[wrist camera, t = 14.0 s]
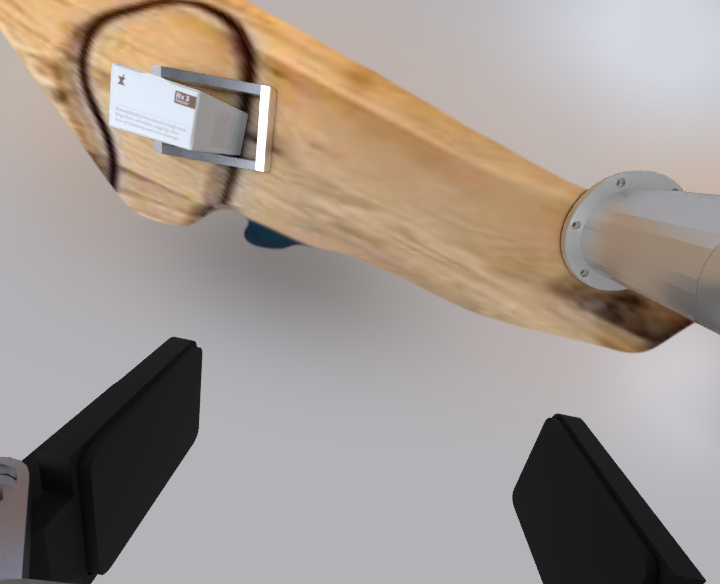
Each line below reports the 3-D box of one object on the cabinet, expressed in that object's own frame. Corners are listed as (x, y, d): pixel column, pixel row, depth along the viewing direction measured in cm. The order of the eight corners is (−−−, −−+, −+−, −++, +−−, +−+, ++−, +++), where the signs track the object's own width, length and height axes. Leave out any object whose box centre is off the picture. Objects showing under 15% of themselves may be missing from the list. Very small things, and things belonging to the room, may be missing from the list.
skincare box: (184, 138, 37) (102, 129, 26) (190, 90, 35) (105, 58, 24) (244, 157, 37) (189, 157, 26) (252, 111, 36) (198, 89, 25)
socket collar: (276, 91, 35) (270, 86, 33) (270, 171, 38) (263, 171, 35) (166, 70, 35) (151, 64, 32) (167, 152, 37) (153, 151, 35)
